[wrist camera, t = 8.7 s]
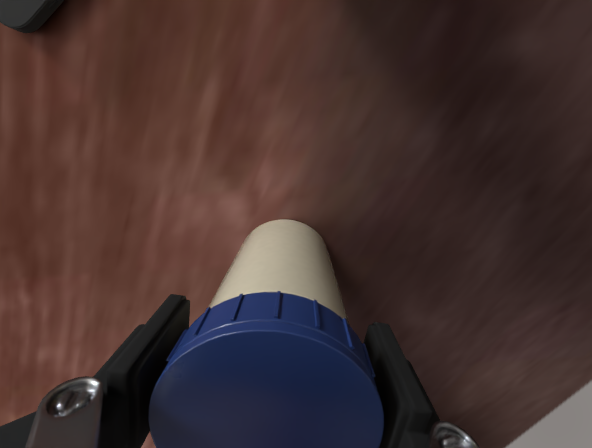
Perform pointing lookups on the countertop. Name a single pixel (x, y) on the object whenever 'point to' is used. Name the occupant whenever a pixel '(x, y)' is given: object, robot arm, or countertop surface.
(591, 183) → the countertop surface
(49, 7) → the phone
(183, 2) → the countertop surface
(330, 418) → the jar lid
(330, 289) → the mayonnaise jar
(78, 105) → the countertop surface
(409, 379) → the robot arm
